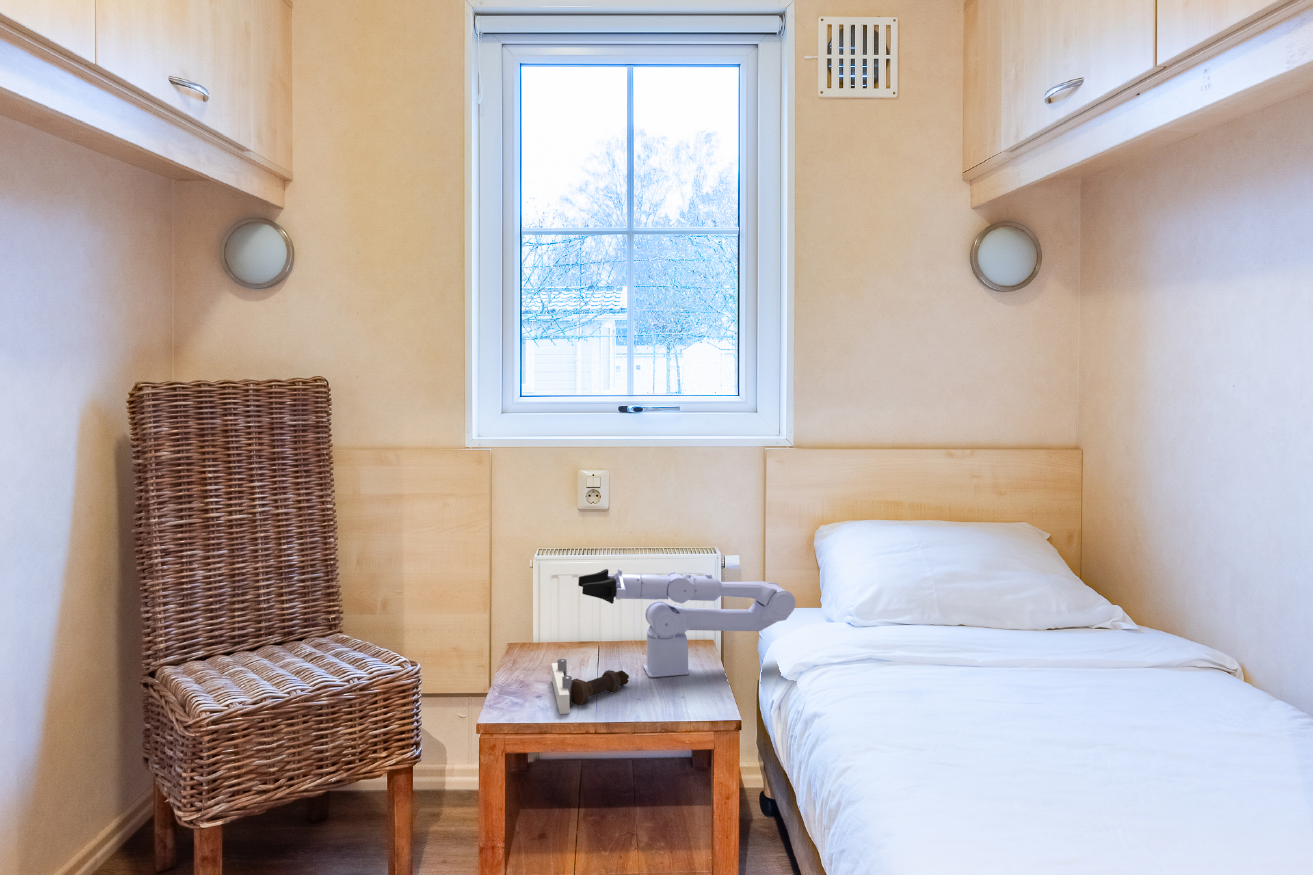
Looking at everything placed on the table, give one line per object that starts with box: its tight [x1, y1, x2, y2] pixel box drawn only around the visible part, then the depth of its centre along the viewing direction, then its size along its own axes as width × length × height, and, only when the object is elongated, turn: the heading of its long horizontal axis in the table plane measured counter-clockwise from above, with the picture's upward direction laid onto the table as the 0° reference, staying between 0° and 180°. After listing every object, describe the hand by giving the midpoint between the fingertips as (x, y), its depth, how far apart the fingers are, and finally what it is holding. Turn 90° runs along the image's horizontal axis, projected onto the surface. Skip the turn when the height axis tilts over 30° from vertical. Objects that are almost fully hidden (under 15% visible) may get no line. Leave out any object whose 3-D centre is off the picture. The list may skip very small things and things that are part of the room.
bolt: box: [572, 669, 630, 707], centre depth 179 cm, size 6×5×15 cm
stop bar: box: [551, 658, 573, 715], centre depth 178 cm, size 3×20×6 cm, turn 12°
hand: (580, 585), depth 188 cm, fingers open, 7 cm apart
